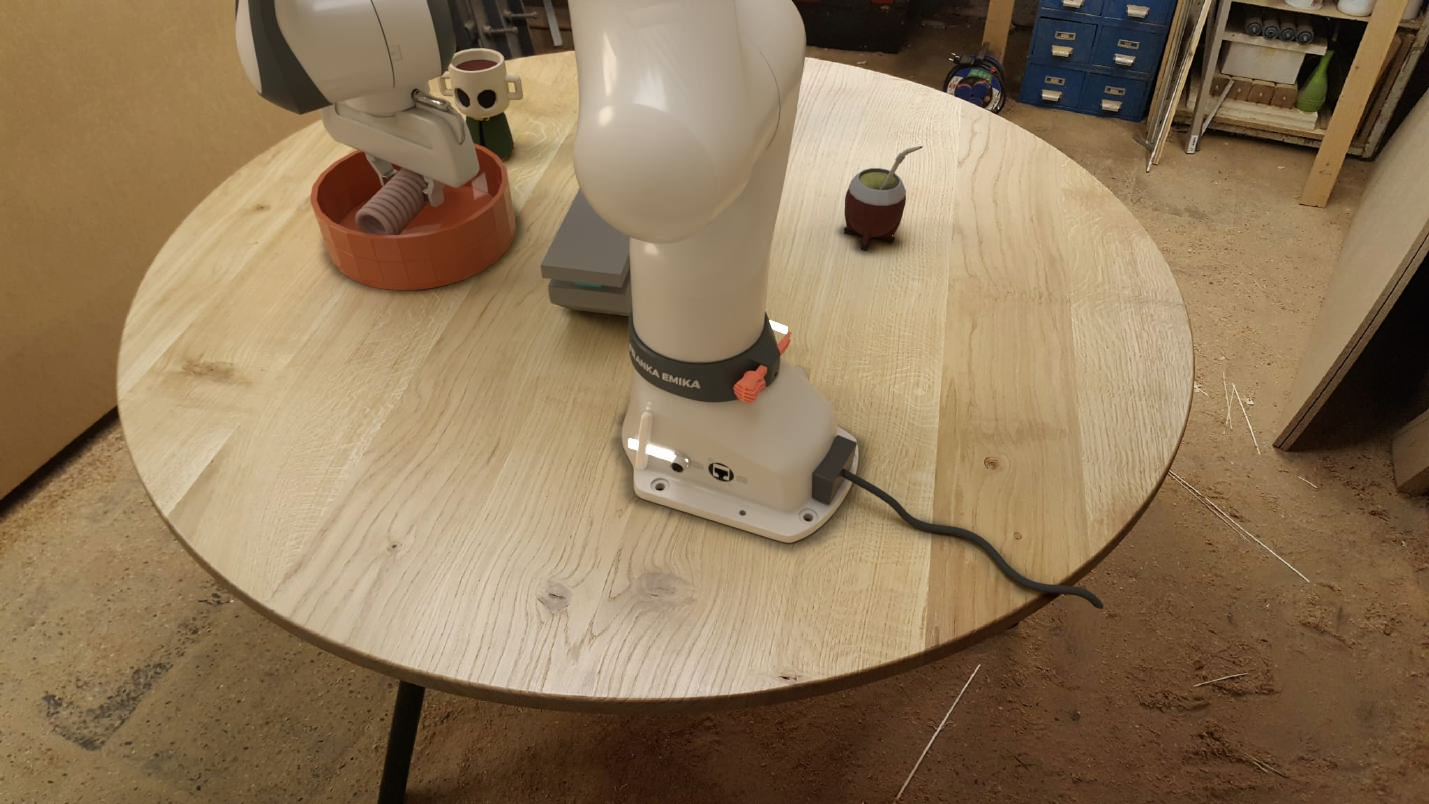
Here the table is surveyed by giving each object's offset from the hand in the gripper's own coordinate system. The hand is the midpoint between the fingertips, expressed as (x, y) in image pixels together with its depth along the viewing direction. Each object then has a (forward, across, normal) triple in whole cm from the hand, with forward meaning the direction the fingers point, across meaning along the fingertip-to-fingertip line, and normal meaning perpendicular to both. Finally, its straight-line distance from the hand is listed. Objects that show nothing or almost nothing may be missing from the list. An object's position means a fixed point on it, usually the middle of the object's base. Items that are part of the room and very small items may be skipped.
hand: (413, 194), depth 101 cm
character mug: (+6, +6, -19) cm, 21 cm away
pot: (+6, 0, 0) cm, 6 cm away
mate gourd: (+6, -46, -29) cm, 55 cm away
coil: (+2, 0, 0) cm, 2 cm away
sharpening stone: (+6, -25, -5) cm, 26 cm away
